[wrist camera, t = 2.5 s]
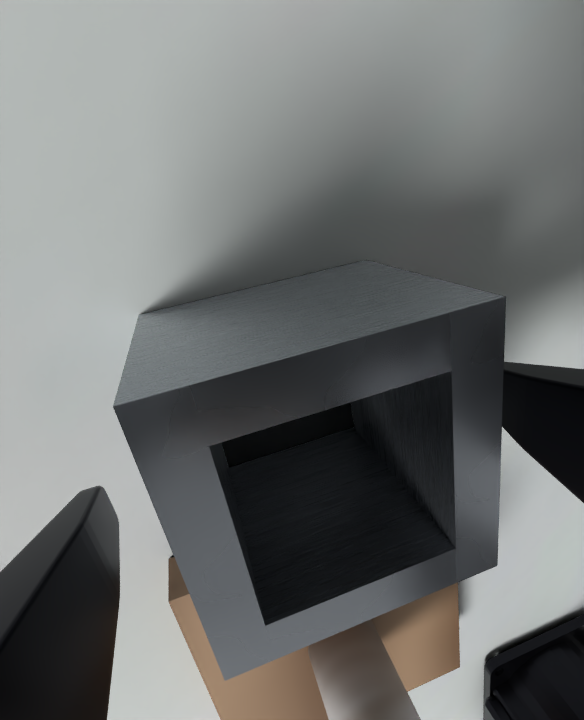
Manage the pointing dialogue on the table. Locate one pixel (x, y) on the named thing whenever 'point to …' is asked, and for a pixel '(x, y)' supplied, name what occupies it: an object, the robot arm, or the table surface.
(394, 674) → the post stand
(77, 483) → the table surface
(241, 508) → the grey square sleeve
